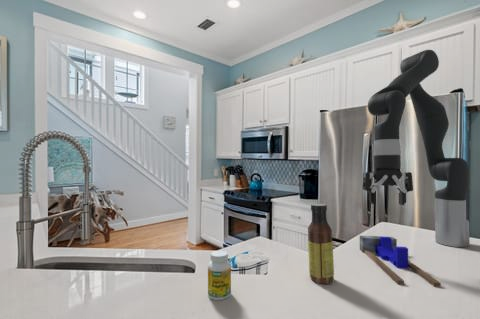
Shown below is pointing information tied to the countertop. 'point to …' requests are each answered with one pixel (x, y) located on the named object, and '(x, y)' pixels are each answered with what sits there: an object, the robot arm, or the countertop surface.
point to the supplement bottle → (219, 276)
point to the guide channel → (369, 248)
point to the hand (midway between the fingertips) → (387, 204)
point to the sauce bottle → (320, 246)
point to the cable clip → (392, 253)
